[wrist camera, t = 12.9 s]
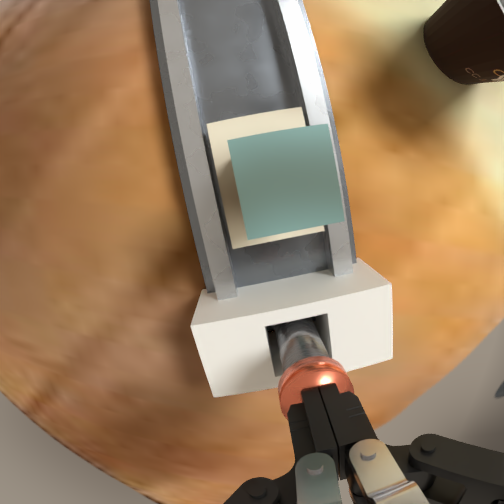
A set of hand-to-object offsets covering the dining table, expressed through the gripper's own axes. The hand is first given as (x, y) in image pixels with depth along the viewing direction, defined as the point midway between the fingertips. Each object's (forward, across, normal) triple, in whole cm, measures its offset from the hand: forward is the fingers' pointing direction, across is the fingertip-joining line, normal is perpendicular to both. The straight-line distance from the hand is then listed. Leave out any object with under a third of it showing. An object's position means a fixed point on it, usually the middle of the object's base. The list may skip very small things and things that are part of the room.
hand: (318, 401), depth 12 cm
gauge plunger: (+9, 0, 0) cm, 9 cm away
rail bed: (+10, 0, -12) cm, 16 cm away
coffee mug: (+10, -19, -17) cm, 28 cm away
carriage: (+9, 0, -9) cm, 13 cm away
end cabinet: (+10, 0, 0) cm, 10 cm away
